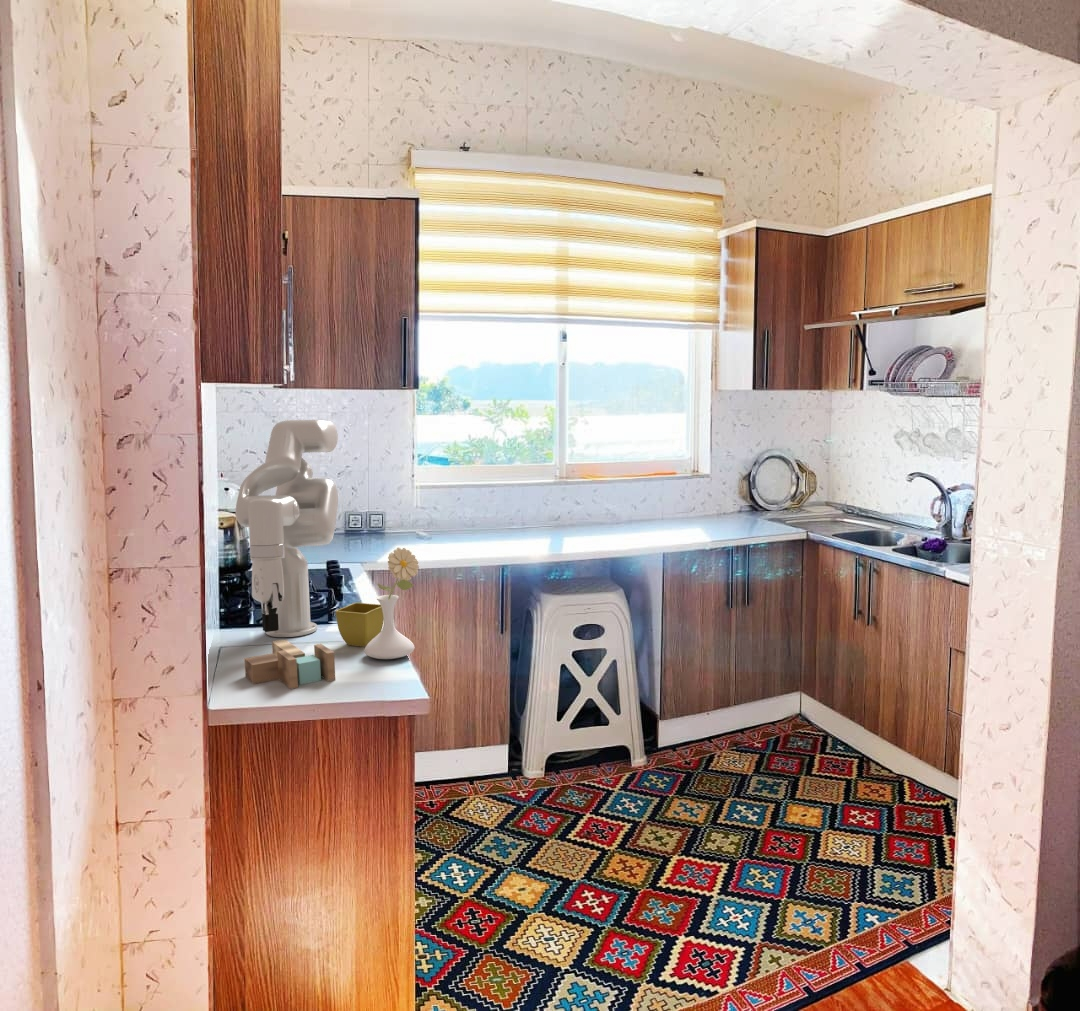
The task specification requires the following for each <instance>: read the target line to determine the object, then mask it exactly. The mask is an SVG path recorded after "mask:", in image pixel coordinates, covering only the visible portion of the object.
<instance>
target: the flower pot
mask: <svg viewBox="0 0 1080 1011" xmlns="http://www.w3.org/2000/svg"><path fill="white" fill-rule="evenodd" d="M334 612H335V618H336V619H335V620H336V623H337V629H338V632H339V634H340V636H341V638H342V639H343V641H344V642H345V644H346V645H347V646H354V647H355V646H356V647H364V648H365V647H366V646H367V644H368V643H369V642H370V641H371V640H372V639H373V638H375V637H376V636H377V635H378V634H379V633H380V632H381V631H382V629H383V625H384V618H383V611H382V607H381V604H380V603H378V604H376V603H365V602H354V603H351V604H348V605H346V606H344V607H341V608H339V609H336V610H335V611H334Z"/></svg>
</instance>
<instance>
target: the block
mask: <svg viewBox="0 0 1080 1011" xmlns="http://www.w3.org/2000/svg"><path fill="white" fill-rule="evenodd" d="M296 661H297V680H298V685H305V684H308V683H310V684H311V683H313V682H314V683H315V682H320V681H322V676H321V670H320V660H319V659H318V658H316V657H315V655H314V654H312V655H311V654H310V655H305V656H304V657H299V658H296ZM319 680H320V681H319Z"/></svg>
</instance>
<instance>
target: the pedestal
mask: <svg viewBox="0 0 1080 1011" xmlns="http://www.w3.org/2000/svg"><path fill="white" fill-rule="evenodd" d="M244 672H245V673H244V674H245V678H246V679H248V680H249V681H250V682H251V683H252V684H253V685H254V684H259V683H264V682H266V683H267V682H269V681H270V682H271V681H276V680H279V677H278V658H277V656H275V655H274V654H273V653H269V654H268V653H267V654H263V655H257V656H250V657H245V658H244Z"/></svg>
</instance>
